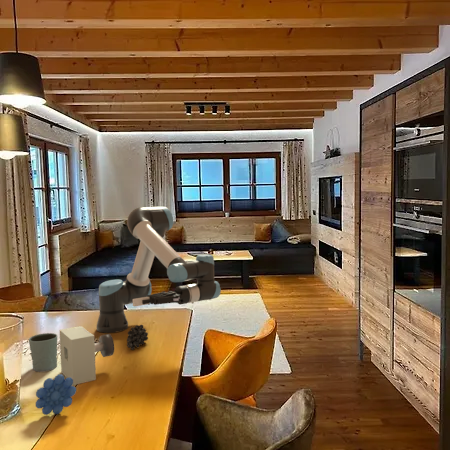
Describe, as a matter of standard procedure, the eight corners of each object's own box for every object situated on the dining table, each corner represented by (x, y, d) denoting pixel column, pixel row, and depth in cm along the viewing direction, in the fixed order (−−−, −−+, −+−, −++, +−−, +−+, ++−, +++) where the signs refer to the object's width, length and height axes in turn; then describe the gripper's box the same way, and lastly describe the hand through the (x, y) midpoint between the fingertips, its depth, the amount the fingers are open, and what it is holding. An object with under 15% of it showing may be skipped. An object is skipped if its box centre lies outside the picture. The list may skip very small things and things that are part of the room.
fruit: (133, 331, 191) (146, 320, 206) (115, 336, 193) (130, 325, 208) (140, 350, 191) (152, 338, 206) (122, 356, 193) (136, 343, 208)
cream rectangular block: (61, 371, 172) (59, 329, 171) (82, 367, 177) (81, 326, 176) (73, 385, 160) (71, 339, 159) (95, 379, 164) (94, 335, 163)
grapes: (77, 404, 145) (75, 367, 144) (77, 414, 138) (75, 375, 137) (37, 410, 141) (35, 372, 140) (35, 420, 135) (33, 380, 134)
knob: (78, 358, 172) (77, 337, 171) (107, 352, 178) (106, 331, 178) (85, 364, 165) (84, 342, 165) (114, 357, 172) (113, 336, 171)
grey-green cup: (64, 364, 180) (62, 334, 179) (46, 374, 170) (44, 342, 170) (43, 361, 183) (41, 332, 182) (24, 371, 174) (22, 339, 173)
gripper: (194, 306, 187) (140, 315, 174) (179, 300, 198) (127, 309, 185) (194, 287, 187) (140, 296, 173) (178, 283, 198) (126, 290, 184)
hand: (133, 302), depth 179 cm, fingers closed
